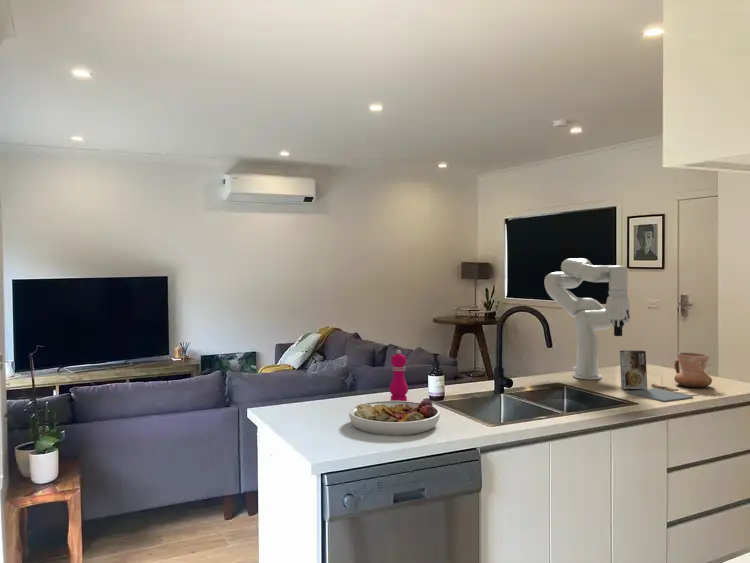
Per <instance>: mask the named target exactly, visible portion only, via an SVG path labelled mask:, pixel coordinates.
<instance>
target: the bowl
mask: <svg viewBox="0 0 750 563" xmlns="http://www.w3.org/2000/svg"><path fill="white" fill-rule="evenodd" d="M440 412H441V411H440V410H439V409H438V408H437V407H435V406H433V402H432V400H430V399H428V398H425V399H423V400H422V401H420V402H417V401H408V400H407V401H391V400H379V401H369V402H364V403H361V404H357V405H355V406H353V407H351V408H350V409H349V412H348V413H349V414H348V416H349V419H350V422H351V423H352V425H353V426H355V427H356V428H357V429H358V430H361V431H363V432H366V433H369V434H372V435H373V434H374V435H381V436H409V435H416V434H417V435H418V434H421V433H425V432H427V431H429V430H431V429H433V428H434V427H435V426H436V425H437V424H438V423H439V421H440V416H441V413H440Z"/></svg>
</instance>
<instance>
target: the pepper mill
mask: <svg viewBox="0 0 750 563" xmlns="http://www.w3.org/2000/svg"><path fill="white" fill-rule="evenodd" d="M390 363H391V365H392V371H393V377H392V380H391V383H390V385H389V393H390V394H391V396H390V401H408V396H407V393H408V392H409V387H408V383H407V381H406V379H405V370H406V366H405V365H406V363H407V357H406V356H405V355H404V354H402V351H401V350H400V349H397V350H396V353H395V354H393V355H392V356H391V358H390Z"/></svg>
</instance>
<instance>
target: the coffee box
mask: <svg viewBox="0 0 750 563" xmlns="http://www.w3.org/2000/svg"><path fill="white" fill-rule="evenodd" d="M646 354H647V352H646V350H640V349H639V350H628V349H627V350H620V351H619V360H620V361H619V362H620V363H619V366H620V383H621V384H620V385H621V386H620V388H621V389H624V390H644V389H648V377H647V376H648V373H647V355H646Z"/></svg>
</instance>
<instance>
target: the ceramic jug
mask: <svg viewBox="0 0 750 563" xmlns="http://www.w3.org/2000/svg"><path fill="white" fill-rule="evenodd" d="M709 359H710V354H707V353H696V352H695V353H694V352H689V351H688V352H683V351H680V352H678V353H677V358H676V359H675V361H674V369H675V373H676V374H675V375H674V381H675V383H677V384H679V385H680V386H682V387H685V388H686V387H687V388H692V389H699V388H707V387H709V386H710V385H711V384H712V382H713V379H712V377H711V376H710V375H709V374H707V373H706V372H705V369H706V367H708V368H709V367H710V366H711V364H710V363H709ZM679 365H680V366H679ZM680 367H681V369H682V370H680Z"/></svg>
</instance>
